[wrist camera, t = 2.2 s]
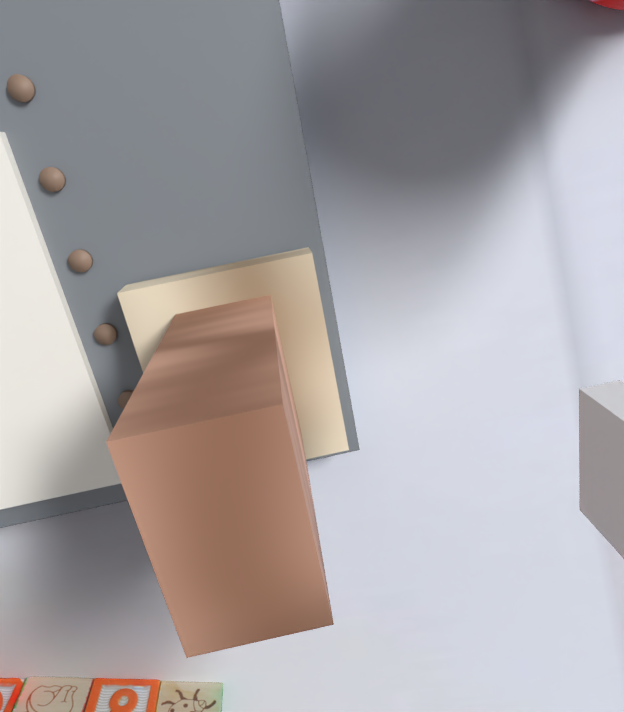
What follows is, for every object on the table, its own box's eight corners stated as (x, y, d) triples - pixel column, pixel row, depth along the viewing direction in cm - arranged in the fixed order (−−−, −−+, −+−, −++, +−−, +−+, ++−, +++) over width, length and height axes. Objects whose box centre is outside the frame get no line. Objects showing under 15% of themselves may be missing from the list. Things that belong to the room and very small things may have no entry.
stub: (184, 468, 19) (127, 708, 11) (126, 284, 17) (-8, 407, 8) (343, 433, 20) (411, 644, 11) (308, 247, 17) (360, 330, 9)
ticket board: (-36, 515, 21) (-63, 547, 19) (-281, 37, 15) (-352, 20, 13) (352, 431, 22) (361, 455, 20) (262, -65, 16) (263, -95, 14)
